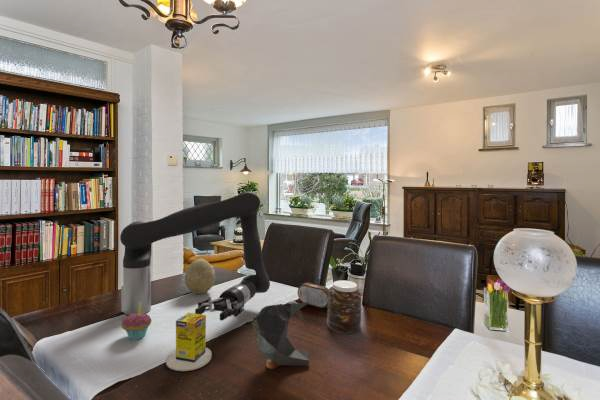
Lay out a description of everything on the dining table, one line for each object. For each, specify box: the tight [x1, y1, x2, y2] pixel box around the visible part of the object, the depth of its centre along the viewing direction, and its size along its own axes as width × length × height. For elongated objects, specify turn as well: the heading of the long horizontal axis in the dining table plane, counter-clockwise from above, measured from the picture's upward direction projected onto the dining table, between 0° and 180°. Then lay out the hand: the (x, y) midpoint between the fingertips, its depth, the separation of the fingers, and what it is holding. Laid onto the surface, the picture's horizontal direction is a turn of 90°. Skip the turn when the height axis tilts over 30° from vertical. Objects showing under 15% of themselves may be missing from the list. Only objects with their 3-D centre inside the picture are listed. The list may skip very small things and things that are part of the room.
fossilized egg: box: [184, 258, 216, 295], centre depth 148 cm, size 13×13×15 cm
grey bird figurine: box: [251, 299, 310, 370], centre depth 94 cm, size 14×15×18 cm
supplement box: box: [175, 312, 207, 362], centre depth 94 cm, size 6×6×11 cm
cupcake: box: [120, 300, 152, 341], centre depth 108 cm, size 9×8×12 cm
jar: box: [326, 279, 363, 335], centre depth 118 cm, size 12×12×15 cm
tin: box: [297, 282, 329, 309], centre depth 137 cm, size 15×3×8 cm, turn 58°
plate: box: [165, 347, 213, 372], centre depth 95 cm, size 12×12×1 cm
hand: (208, 315), depth 103 cm, fingers open, 8 cm apart
